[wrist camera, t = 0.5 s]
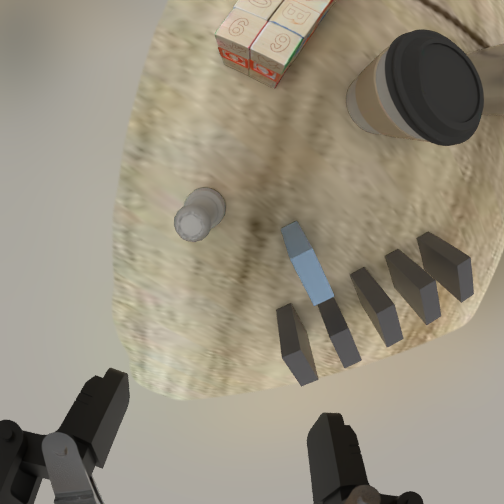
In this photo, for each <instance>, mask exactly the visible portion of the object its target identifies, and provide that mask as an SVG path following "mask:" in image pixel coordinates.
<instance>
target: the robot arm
mask: <svg viewBox="0 0 504 504" xmlns="http://www.w3.org/2000/svg"><path fill="white" fill-rule="evenodd" d="M466 55H467V56H468V57H469V59H470V60H471V61H472V63H473V65H474V66H475V68H476V70H477V72H478V74H479V77H480V80H481V83H482V87H483V92H484V107H483V112H482V114H484V115H504V44H500V45H496V46H492V47H489V48H485V49H481V50H477V51H474V52H471V53H468V54H466ZM129 398H130V395H129V382H128V374H127V373H124V372H121V371H119V370H116V369H113V368H109V369H108V371H107V372H106V374H105V376H104V377H103V378H101V377H99V376H94V377H93V378H91V379H90V380H88V381H87V382H86V383H85V385H84V386H83V388H82V390H81V393H79V395H78V397H77V398H76V401H75V402H74V404H73V405H72V407H71V409H70V410H69V412H68V414H67V416H66V417H65V419H64V421H63V423H62V424H61V426H60V428H59V429H58V430H57V431H56V432H54V433H50V434H48V435H40V434H35V433H31V432H27V431H23V430H22V429H21V428H20V427H19V425H18V424H17V423H15V422H13V421H11V420H2V421H0V504H34V501H35V498H36V495H37V492H38V490H39V487H40V484H41V481H42V478H45V479H49V480H50V481H51V485H52V488H53V491H54V494H55V500H54V504H104V502H103V499H102V497H101V495H100V493H99V490H98V488H97V486H96V483H95V481H94V478H93V476H92V472H93V470H94V467H95V466H97V467H100V468H103V467H104V464H105V461H106V459H107V456H108V454H109V451H110V448H111V446H112V444H113V441H114V439H115V436H116V434H117V431H118V429H119V426H120V424H121V422H122V419H123V417H124V414H125V412H126V410H127V407H128V404H129ZM358 445H359V443H358V440H357V436H356V434H355V432H354V431H353V429H352V428H351V427H350V425H344V421H343V417H342V415H341V414H340V413H322V414H321V415H320V417H319V418H318V420H317V421H316V422H315V424H314V425H313V427H312V428H311V429H310V431H309V433H308V437H307V447H308V456H309V464H310V473H311V482H312V492H313V501H314V504H423V500H422V498H421V496H420V495H419V494H417V493H415V492H411V491H409V492H405V493H403V494H402V495H400V496H391V495H384V494H380V493H379V492H378V491H377V490H376V489H375V488H374V487H372V486H370V485H369V483H368V480H367V476H366V471H365V467H364V463H363V459H362V455H361V454H360V453H361V451H360V448H359V446H358Z"/></svg>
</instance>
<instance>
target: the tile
mask: <svg viewBox="0 0 504 504" xmlns="http://www.w3.org/2000/svg"><path fill="white" fill-rule="evenodd" d="M281 232H282V235H283V238H284V241H285V244H286V248H287V251H288V254H289V257H290V260H291V262H292V264H293V266H294V268H295V270H296V272H297V274H298V276H299V277H300V279H301V281H302V283H303V285H304V287H305V289H306V291H307V293H308V295H309V297H310V299H311V301H312V303H313V305H314V306H315V305H317V304H320V303H322V302H324V301H326V300H328V299H330V298H332V297H334V294H333V291H332V289H331V287H330V285H329V283H328V280H327V278H326V276H325V274H324V272H323V270H322V267H321V265H320V263H319V261H318V259H317V257H316V255H315V253H314V250H313V248H312V246H311V245H310V243H309V241H308V239H307V238H306V236H305V234H304V232H303V231H302V229H301V227H300V225H299V224H298V222H297V221H295V222H293V223H291V224H289V225H287V226H285V227H283V228H281Z"/></svg>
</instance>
